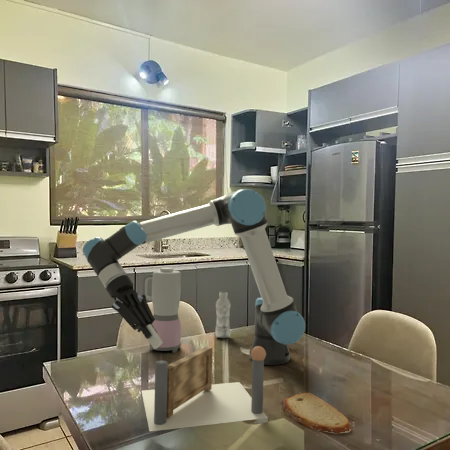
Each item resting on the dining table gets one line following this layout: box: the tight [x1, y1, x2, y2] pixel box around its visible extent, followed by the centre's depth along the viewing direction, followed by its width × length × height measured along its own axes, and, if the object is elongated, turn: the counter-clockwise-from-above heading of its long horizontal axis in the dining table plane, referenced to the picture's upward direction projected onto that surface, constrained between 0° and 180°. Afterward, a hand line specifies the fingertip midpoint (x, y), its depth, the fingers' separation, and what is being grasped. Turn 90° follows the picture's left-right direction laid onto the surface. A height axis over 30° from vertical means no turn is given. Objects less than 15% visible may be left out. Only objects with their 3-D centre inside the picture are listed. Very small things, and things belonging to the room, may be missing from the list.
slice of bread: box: [281, 392, 352, 433], centre depth 112 cm, size 18×18×4 cm
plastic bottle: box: [214, 291, 231, 339], centre depth 182 cm, size 6×7×20 cm
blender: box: [142, 267, 183, 354], centre depth 165 cm, size 16×12×32 cm
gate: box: [166, 345, 213, 418], centre depth 114 cm, size 21×2×12 cm, turn 151°
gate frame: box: [141, 346, 269, 432], centre depth 114 cm, size 30×24×18 cm
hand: (158, 345), depth 118 cm, fingers closed
